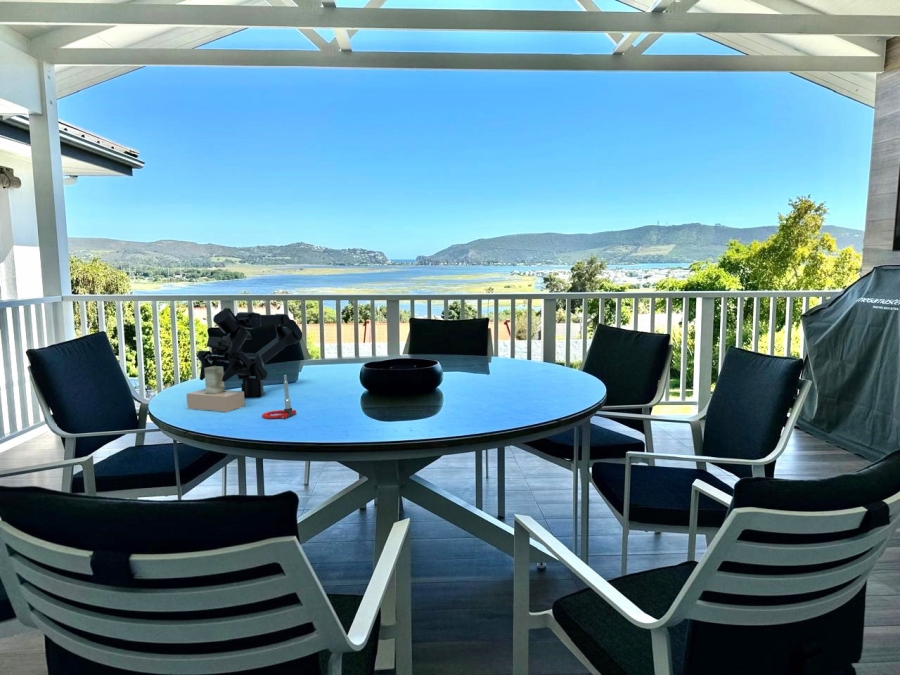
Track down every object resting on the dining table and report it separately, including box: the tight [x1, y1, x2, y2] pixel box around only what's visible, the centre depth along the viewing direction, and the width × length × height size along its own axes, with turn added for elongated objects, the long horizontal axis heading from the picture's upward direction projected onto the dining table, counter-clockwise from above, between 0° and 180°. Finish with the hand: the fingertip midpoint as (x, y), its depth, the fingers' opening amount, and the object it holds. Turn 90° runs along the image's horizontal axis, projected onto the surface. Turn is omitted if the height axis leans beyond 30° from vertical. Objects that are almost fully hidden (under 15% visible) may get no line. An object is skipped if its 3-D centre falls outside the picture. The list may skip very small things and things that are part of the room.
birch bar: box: [204, 365, 226, 395], centre depth 189 cm, size 4×4×12 cm
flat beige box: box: [186, 388, 246, 413], centre depth 190 cm, size 8×16×5 cm, turn 68°
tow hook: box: [261, 374, 297, 420], centre depth 177 cm, size 8×13×9 cm
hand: (211, 380), depth 188 cm, fingers open, 9 cm apart
